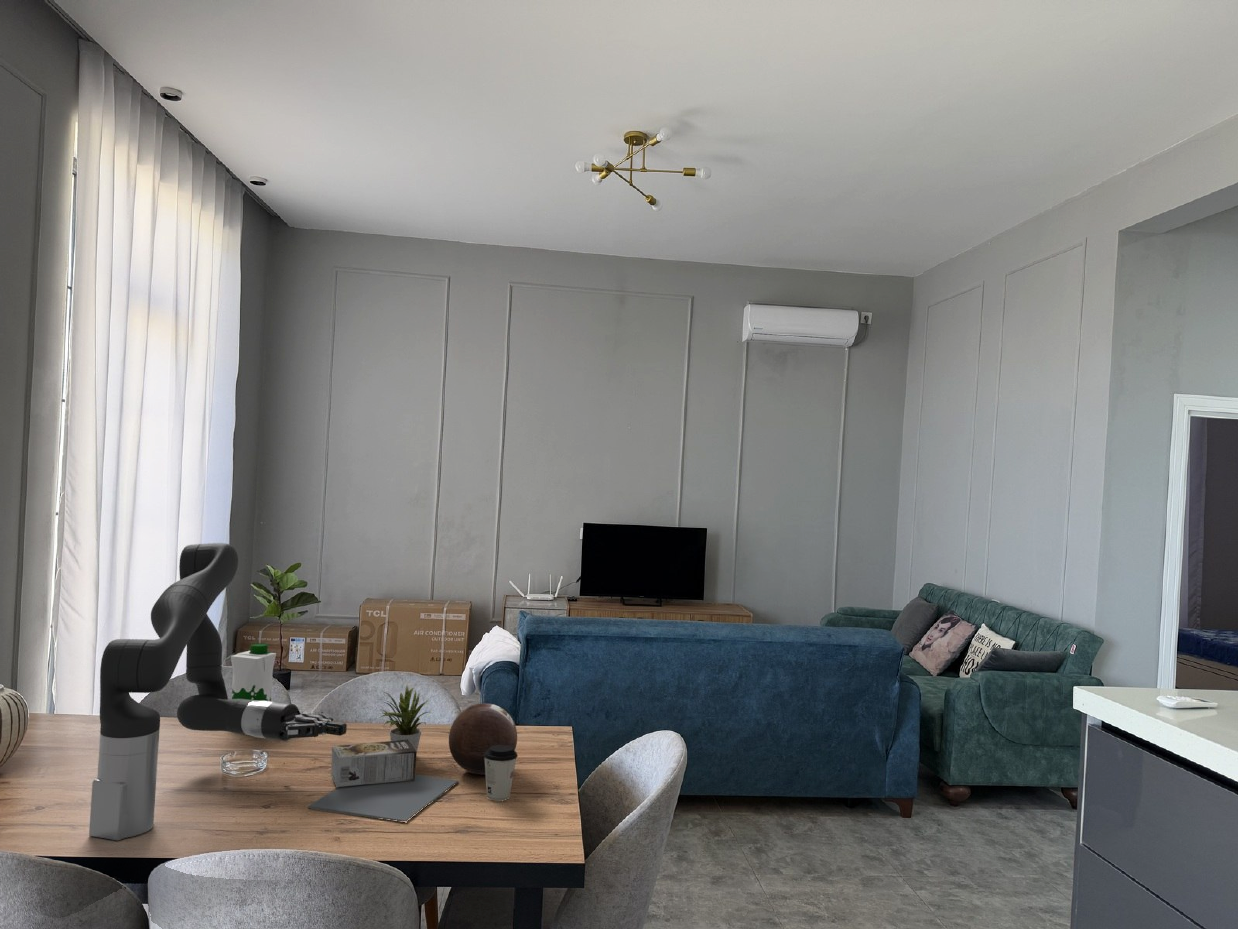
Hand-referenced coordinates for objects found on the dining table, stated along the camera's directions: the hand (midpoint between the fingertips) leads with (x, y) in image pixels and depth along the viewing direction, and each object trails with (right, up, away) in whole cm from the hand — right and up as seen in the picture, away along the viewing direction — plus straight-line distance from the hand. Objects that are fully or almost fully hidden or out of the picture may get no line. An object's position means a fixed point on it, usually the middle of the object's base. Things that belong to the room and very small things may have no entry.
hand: (344, 729), depth 182 cm
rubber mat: (+9, -12, -3) cm, 16 cm away
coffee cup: (+32, -14, -1) cm, 35 cm away
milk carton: (-36, -11, +39) cm, 54 cm away
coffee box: (-3, -8, +2) cm, 9 cm away
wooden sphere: (+26, -14, +14) cm, 33 cm away
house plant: (+6, -13, +22) cm, 26 cm away
